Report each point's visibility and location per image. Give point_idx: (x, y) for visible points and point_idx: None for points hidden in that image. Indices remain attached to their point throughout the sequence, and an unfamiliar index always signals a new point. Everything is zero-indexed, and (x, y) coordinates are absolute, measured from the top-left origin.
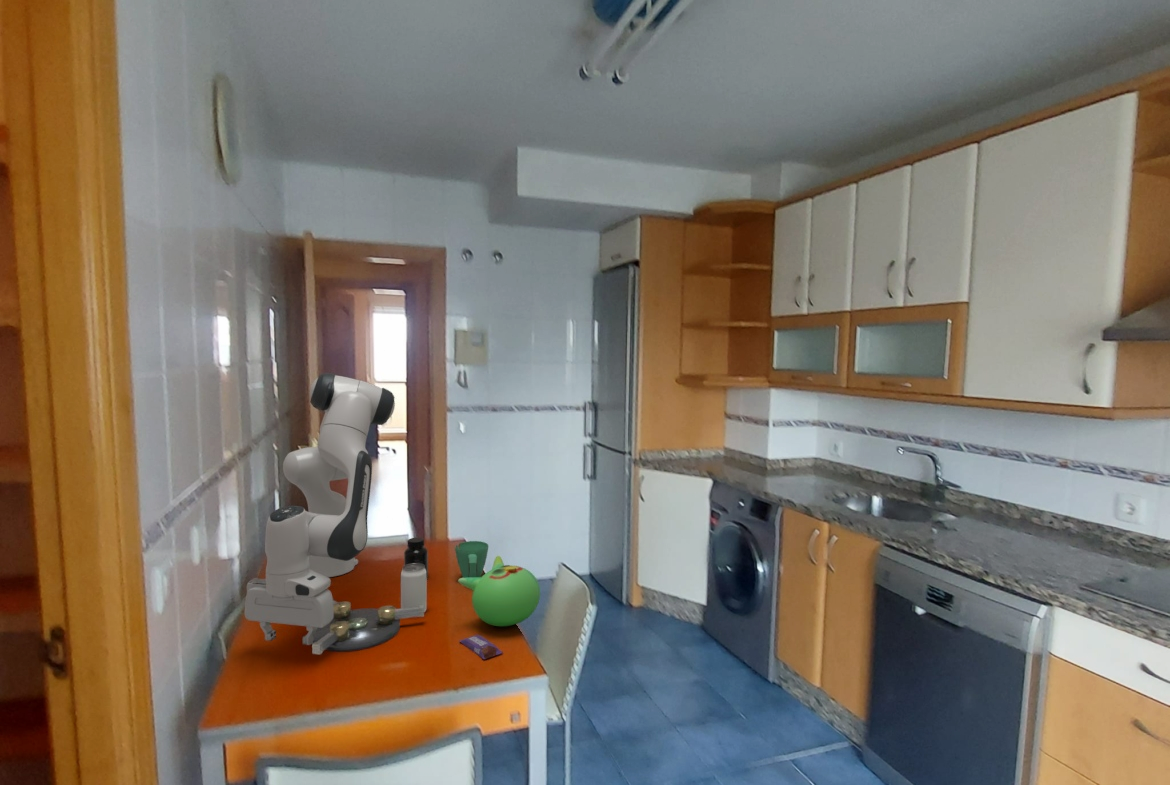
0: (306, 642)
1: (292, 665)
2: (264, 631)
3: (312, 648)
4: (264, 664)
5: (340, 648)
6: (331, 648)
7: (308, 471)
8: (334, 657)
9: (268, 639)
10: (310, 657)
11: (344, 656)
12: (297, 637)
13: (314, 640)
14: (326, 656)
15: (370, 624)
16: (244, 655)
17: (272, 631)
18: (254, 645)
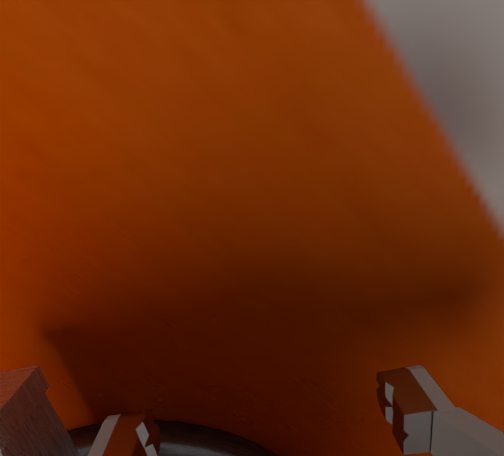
0: (112, 427)
1: (143, 275)
2: (468, 420)
3: (10, 394)
4: (291, 228)
5: None
6: (96, 435)
7: None
8: None
9: (399, 373)
10: (136, 357)
11: None
12: (345, 444)
13: (218, 453)
14: (77, 387)
15: None
16: (469, 255)
17: (417, 440)
18: (486, 339)
